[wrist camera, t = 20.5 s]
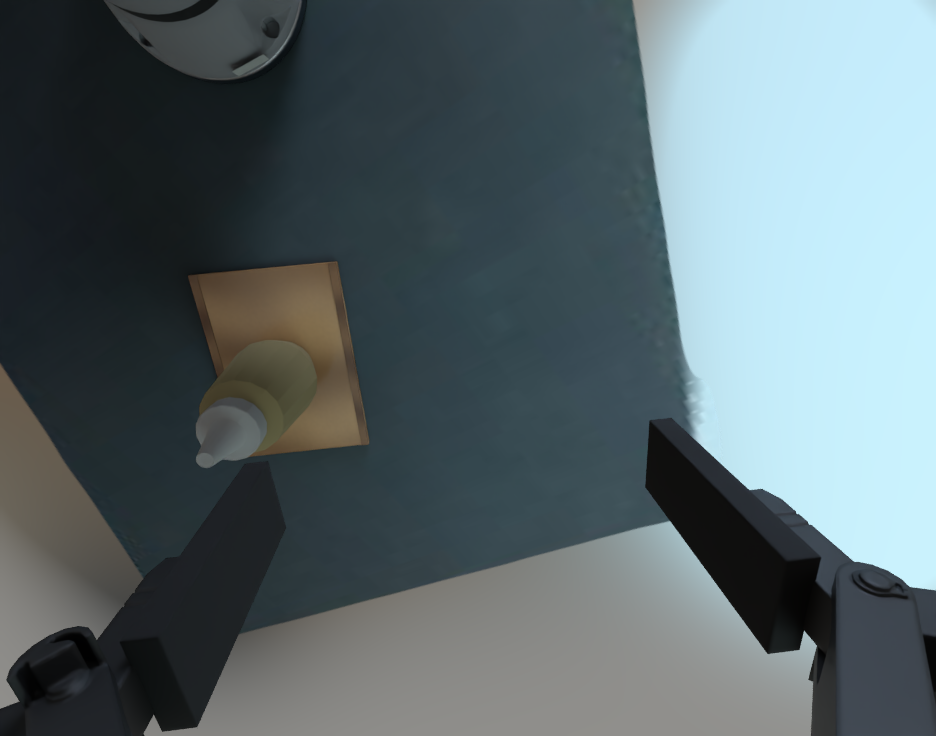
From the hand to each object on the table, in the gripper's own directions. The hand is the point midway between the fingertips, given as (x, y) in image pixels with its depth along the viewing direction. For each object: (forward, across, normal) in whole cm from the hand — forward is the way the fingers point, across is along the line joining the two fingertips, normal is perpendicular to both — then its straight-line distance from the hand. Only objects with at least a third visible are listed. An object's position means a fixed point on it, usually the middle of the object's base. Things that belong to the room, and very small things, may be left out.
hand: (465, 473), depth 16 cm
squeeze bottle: (+32, -17, -6) cm, 37 cm away
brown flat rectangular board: (+33, -17, -6) cm, 37 cm away
